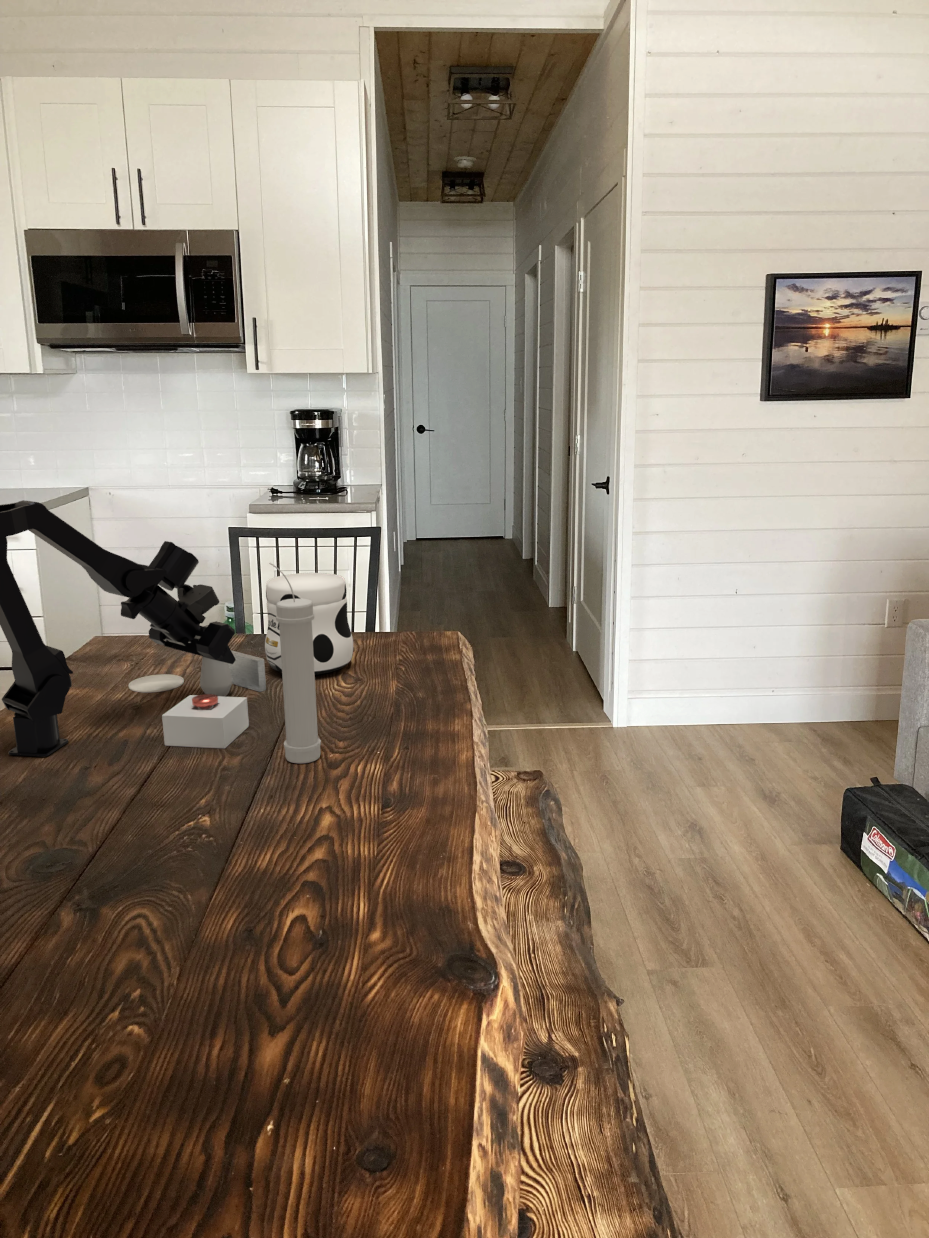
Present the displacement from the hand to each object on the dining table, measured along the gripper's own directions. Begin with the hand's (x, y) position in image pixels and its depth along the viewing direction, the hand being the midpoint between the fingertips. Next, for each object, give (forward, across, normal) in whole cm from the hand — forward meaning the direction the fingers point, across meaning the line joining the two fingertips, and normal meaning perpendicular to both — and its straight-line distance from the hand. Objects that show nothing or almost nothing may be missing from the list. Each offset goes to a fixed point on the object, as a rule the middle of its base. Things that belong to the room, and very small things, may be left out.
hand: (220, 658), depth 173 cm
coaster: (+2, +14, +8) cm, 17 cm away
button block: (-6, -16, +15) cm, 23 cm away
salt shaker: (+4, 0, +6) cm, 7 cm away
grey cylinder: (-4, -35, +14) cm, 38 cm away
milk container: (+19, -1, -9) cm, 21 cm away
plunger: (-7, -16, +15) cm, 23 cm away
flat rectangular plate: (+8, 0, +1) cm, 8 cm away
